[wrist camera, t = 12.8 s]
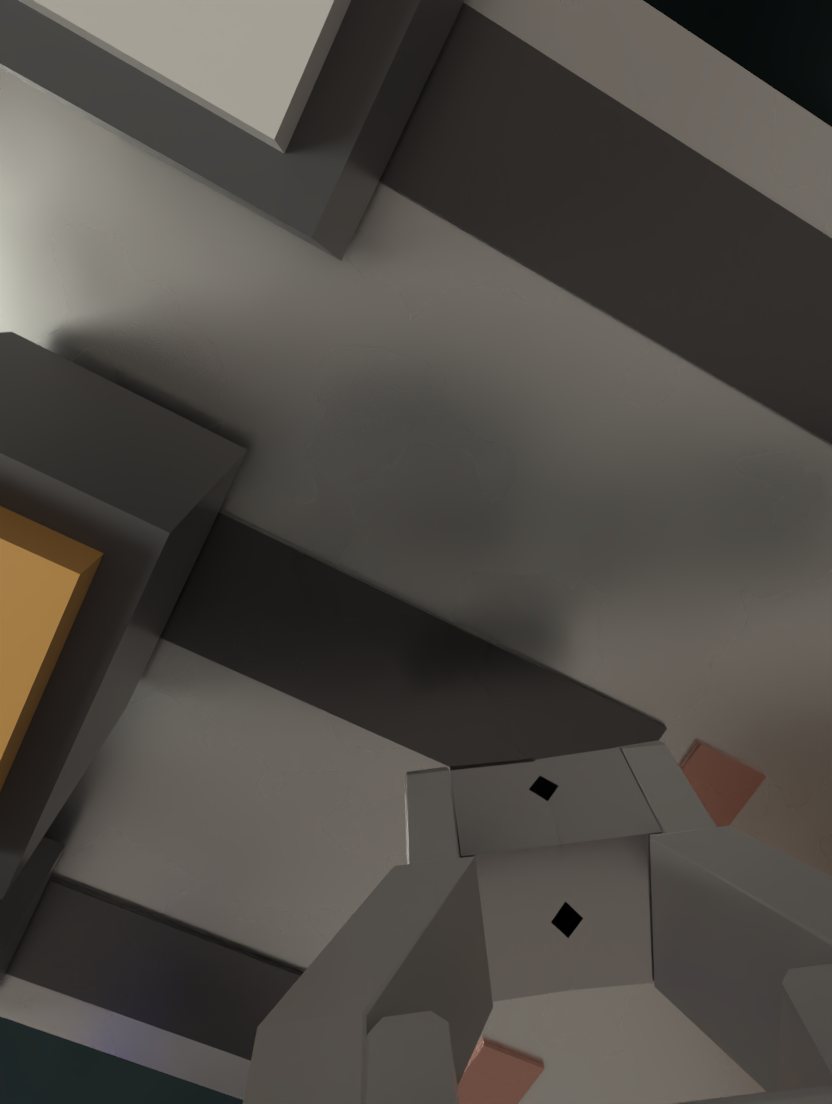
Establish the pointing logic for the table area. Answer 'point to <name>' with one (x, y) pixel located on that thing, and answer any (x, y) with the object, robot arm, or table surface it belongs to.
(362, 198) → the breaker
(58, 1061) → the table surface
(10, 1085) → the table surface
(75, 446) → the breaker mid
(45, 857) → the breaker
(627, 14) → the panel
